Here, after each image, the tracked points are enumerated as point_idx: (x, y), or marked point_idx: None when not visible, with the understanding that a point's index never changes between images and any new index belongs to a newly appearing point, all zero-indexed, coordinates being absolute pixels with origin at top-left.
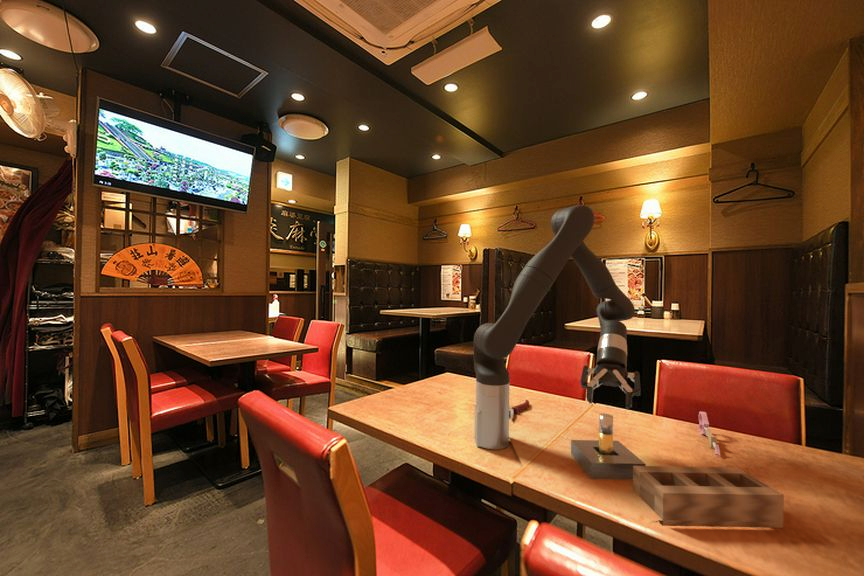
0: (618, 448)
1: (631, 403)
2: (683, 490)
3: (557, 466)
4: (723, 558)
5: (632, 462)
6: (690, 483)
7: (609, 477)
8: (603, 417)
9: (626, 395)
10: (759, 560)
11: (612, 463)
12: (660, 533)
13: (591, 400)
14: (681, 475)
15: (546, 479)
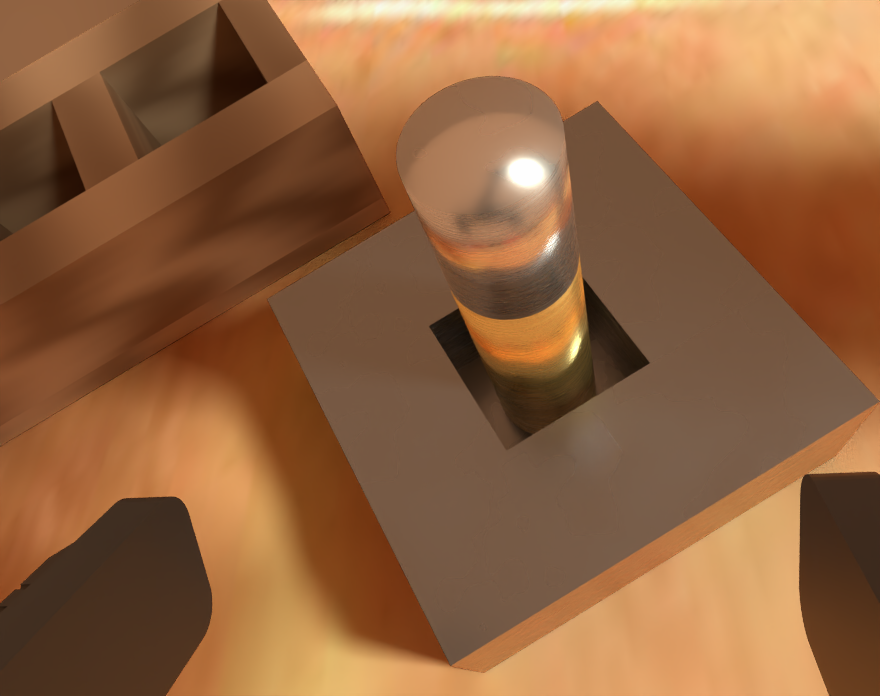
0: (440, 460)
1: (59, 551)
2: (138, 20)
3: (864, 255)
4: None
5: (346, 269)
6: (83, 100)
7: None
8: (503, 77)
9: (32, 630)
10: None
11: None
12: (308, 19)
13: (802, 493)
14: (97, 155)
15: (849, 74)
